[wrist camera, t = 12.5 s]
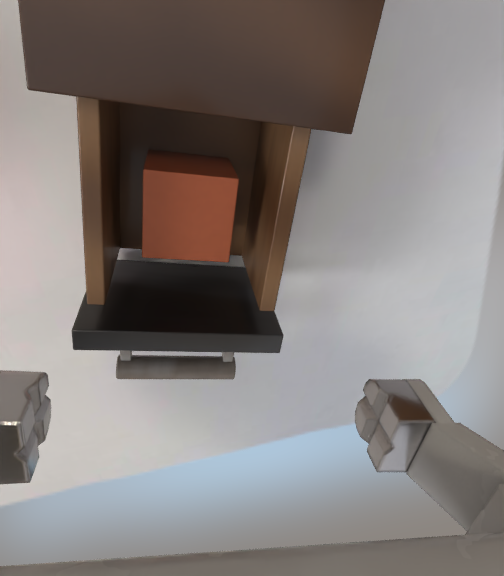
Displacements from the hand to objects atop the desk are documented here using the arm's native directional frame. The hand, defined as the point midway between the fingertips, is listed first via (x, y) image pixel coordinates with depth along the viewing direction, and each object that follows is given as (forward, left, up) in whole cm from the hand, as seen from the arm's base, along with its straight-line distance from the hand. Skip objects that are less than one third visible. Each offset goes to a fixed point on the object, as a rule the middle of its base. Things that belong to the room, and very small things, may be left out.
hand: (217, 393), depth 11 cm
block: (0, -1, -16) cm, 16 cm away
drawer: (0, +2, -17) cm, 17 cm away
